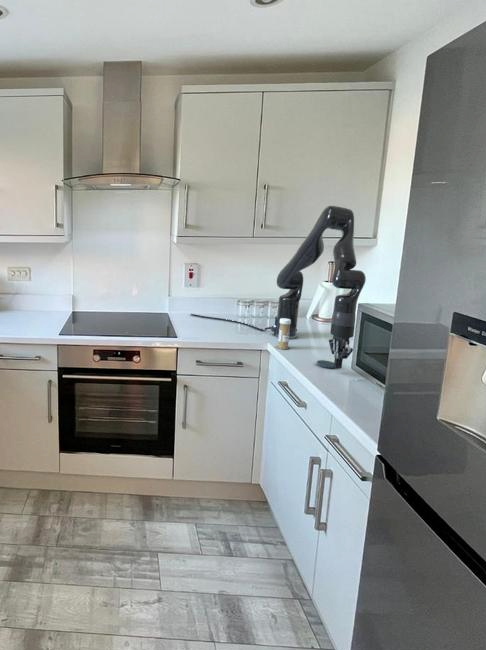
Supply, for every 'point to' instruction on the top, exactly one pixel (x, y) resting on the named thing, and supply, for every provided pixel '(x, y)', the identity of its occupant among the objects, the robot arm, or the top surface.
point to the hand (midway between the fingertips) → (337, 367)
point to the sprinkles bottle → (284, 333)
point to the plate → (325, 364)
